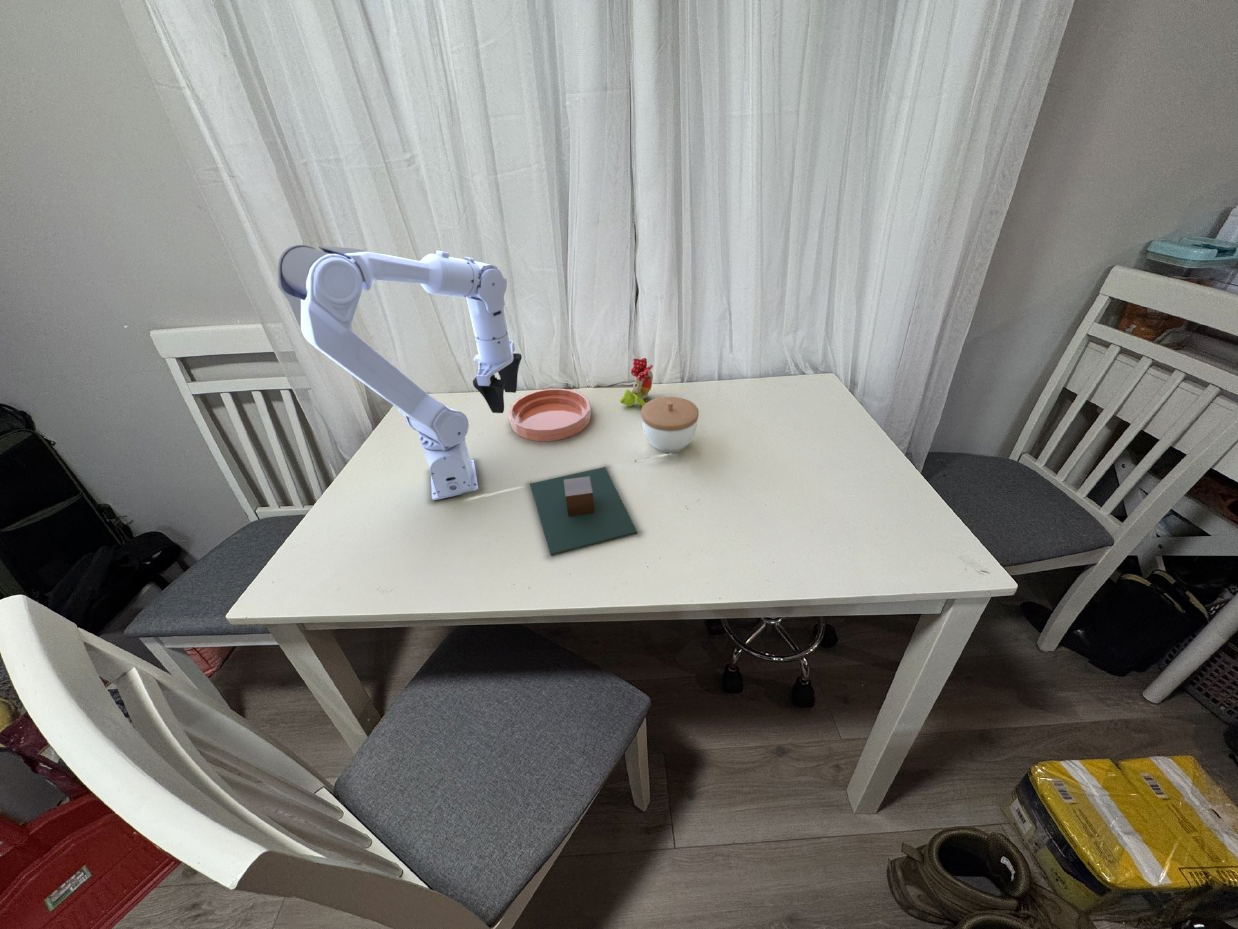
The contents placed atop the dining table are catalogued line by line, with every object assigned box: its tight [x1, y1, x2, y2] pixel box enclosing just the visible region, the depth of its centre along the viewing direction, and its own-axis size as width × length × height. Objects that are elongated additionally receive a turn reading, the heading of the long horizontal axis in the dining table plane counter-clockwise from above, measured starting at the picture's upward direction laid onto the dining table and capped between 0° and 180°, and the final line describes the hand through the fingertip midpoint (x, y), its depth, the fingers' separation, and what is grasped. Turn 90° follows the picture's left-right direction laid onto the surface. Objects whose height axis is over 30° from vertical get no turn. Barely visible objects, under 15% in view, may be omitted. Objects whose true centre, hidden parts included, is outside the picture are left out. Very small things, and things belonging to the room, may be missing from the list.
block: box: [564, 476, 595, 516], centre depth 86 cm, size 4×4×4 cm
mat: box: [530, 466, 638, 556], centre depth 87 cm, size 18×14×1 cm
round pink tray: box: [508, 388, 592, 443], centre depth 109 cm, size 17×17×3 cm
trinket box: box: [640, 396, 699, 454], centre depth 98 cm, size 11×11×9 cm
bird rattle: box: [619, 357, 654, 408], centre depth 112 cm, size 6×11×9 cm
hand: (504, 401), depth 98 cm, fingers open, 7 cm apart
